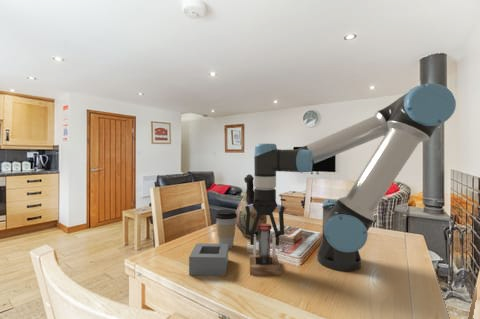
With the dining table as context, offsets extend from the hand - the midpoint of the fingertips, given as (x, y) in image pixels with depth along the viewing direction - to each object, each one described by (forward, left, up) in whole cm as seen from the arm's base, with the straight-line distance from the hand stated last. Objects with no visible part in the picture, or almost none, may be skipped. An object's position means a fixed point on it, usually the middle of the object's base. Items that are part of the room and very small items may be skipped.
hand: (264, 253), depth 86 cm
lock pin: (0, 0, -5) cm, 5 cm away
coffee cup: (+15, -19, -5) cm, 25 cm away
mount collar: (0, 0, -5) cm, 5 cm away
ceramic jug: (+4, -34, -5) cm, 35 cm away
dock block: (+19, 0, -5) cm, 20 cm away
